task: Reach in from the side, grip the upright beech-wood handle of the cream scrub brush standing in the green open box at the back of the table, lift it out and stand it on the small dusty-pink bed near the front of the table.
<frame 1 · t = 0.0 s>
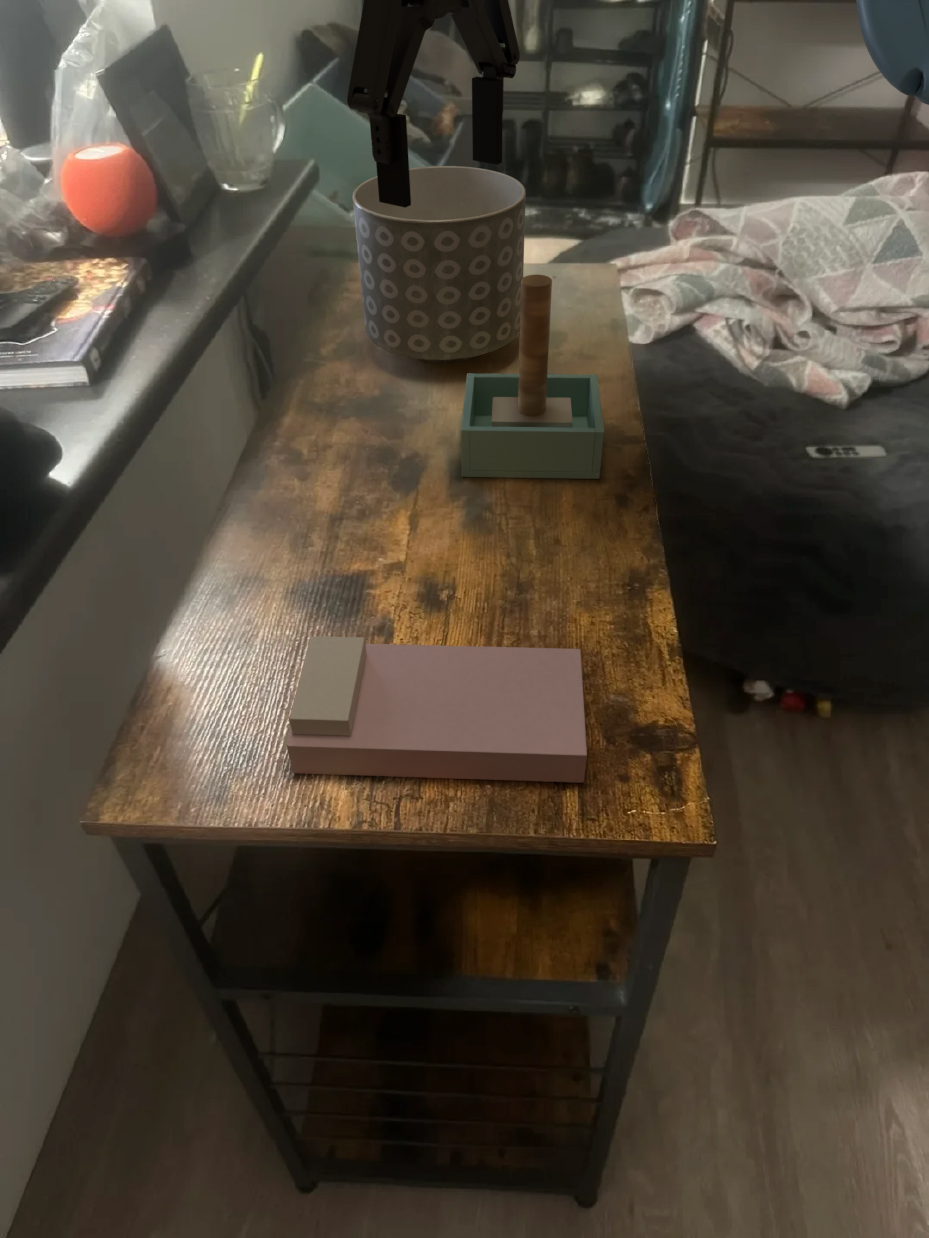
hand: (443, 182, 76), 25 cm above the table, tool pointing down, fingers open, 13 cm apart
planter: (444, 349, 109), on the table
bed: (442, 722, 64), on the table
green open box: (530, 447, 91), on the table
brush: (530, 440, 91), point 1 cm above the table, touching green open box
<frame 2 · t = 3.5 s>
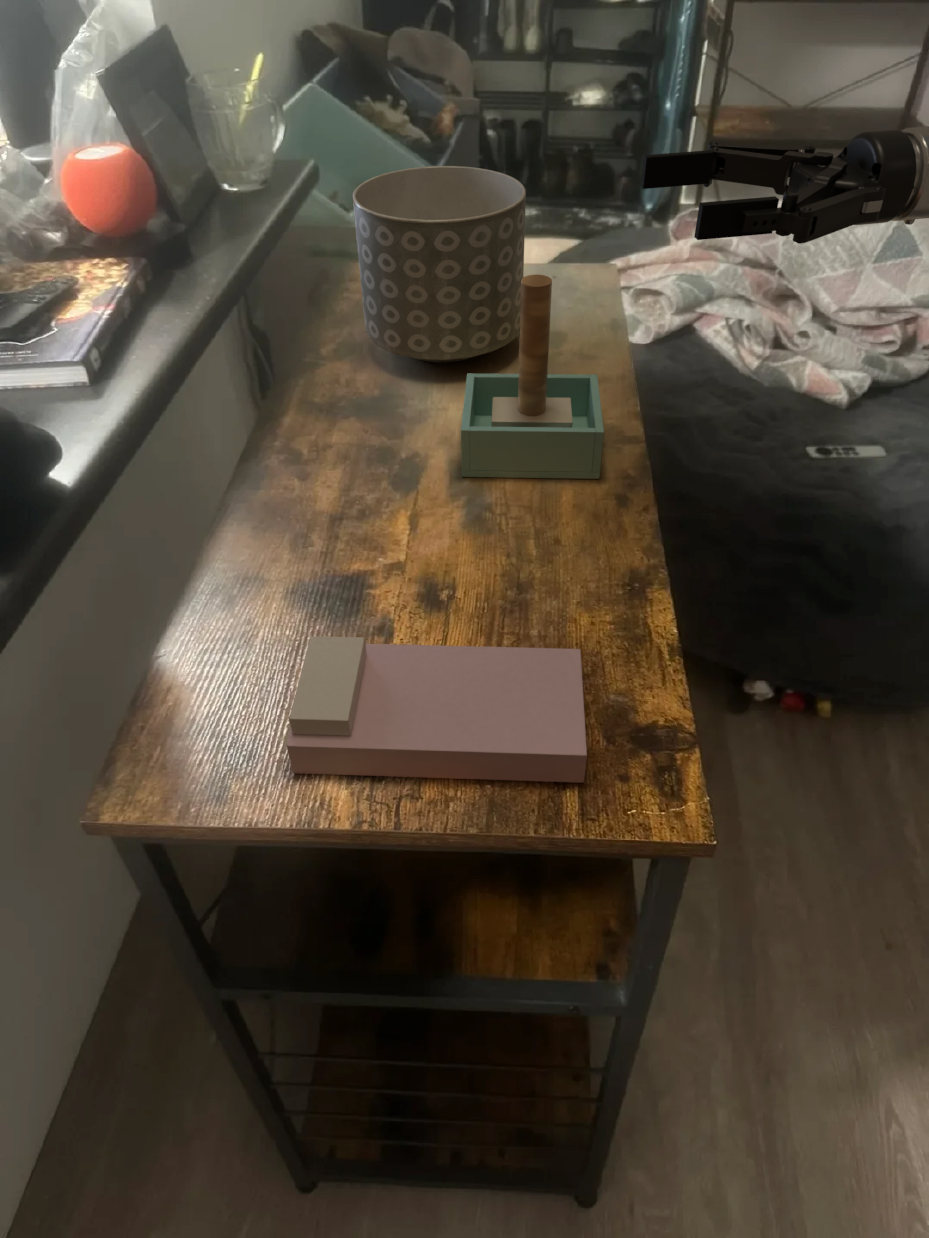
hand: (668, 195, 77), 24 cm above the table, tool horizontal, fingers open, 13 cm apart
nothing on the table moved.
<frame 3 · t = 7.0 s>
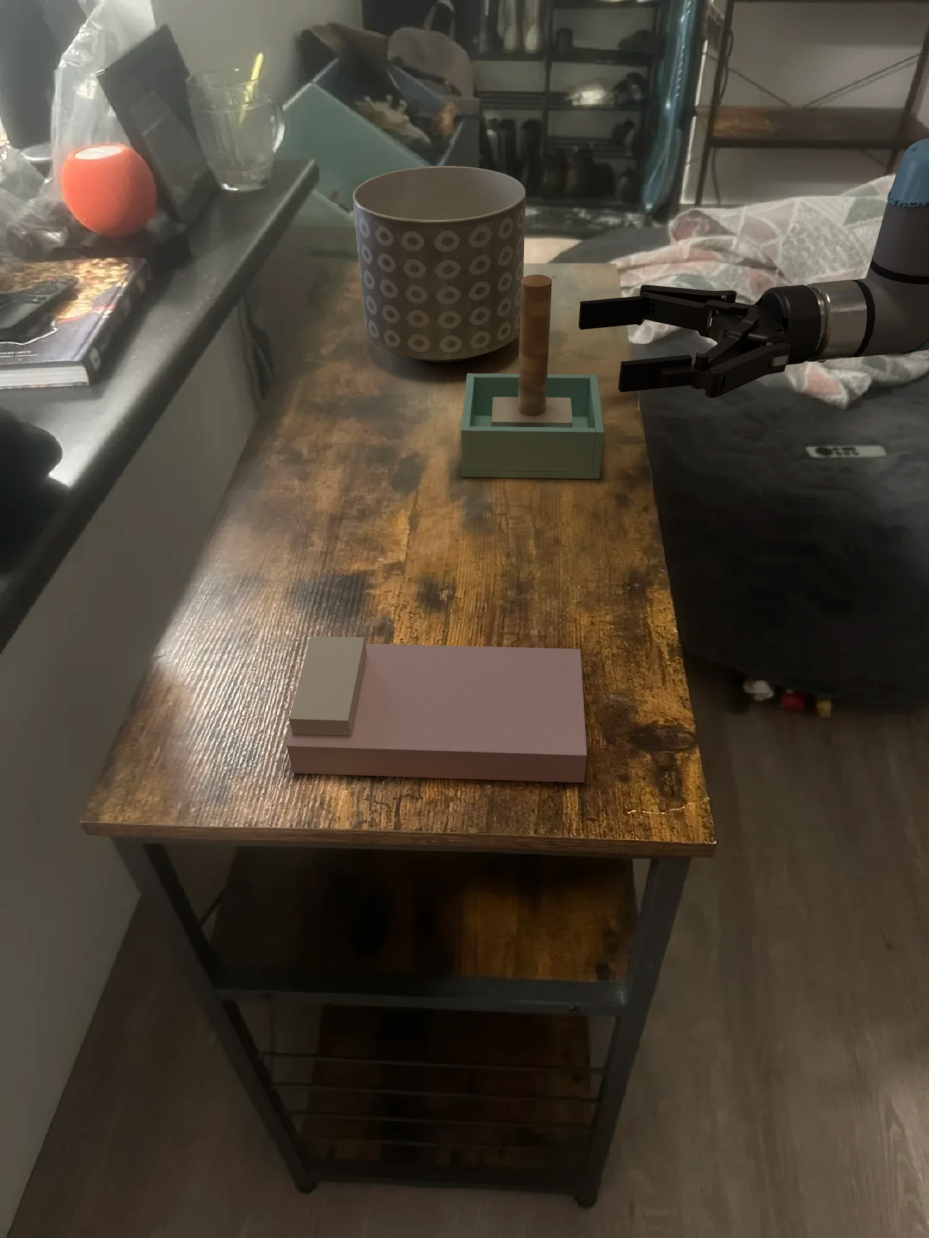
hand: (598, 344, 85), 11 cm above the table, tool horizontal, fingers open, 13 cm apart
nothing on the table moved.
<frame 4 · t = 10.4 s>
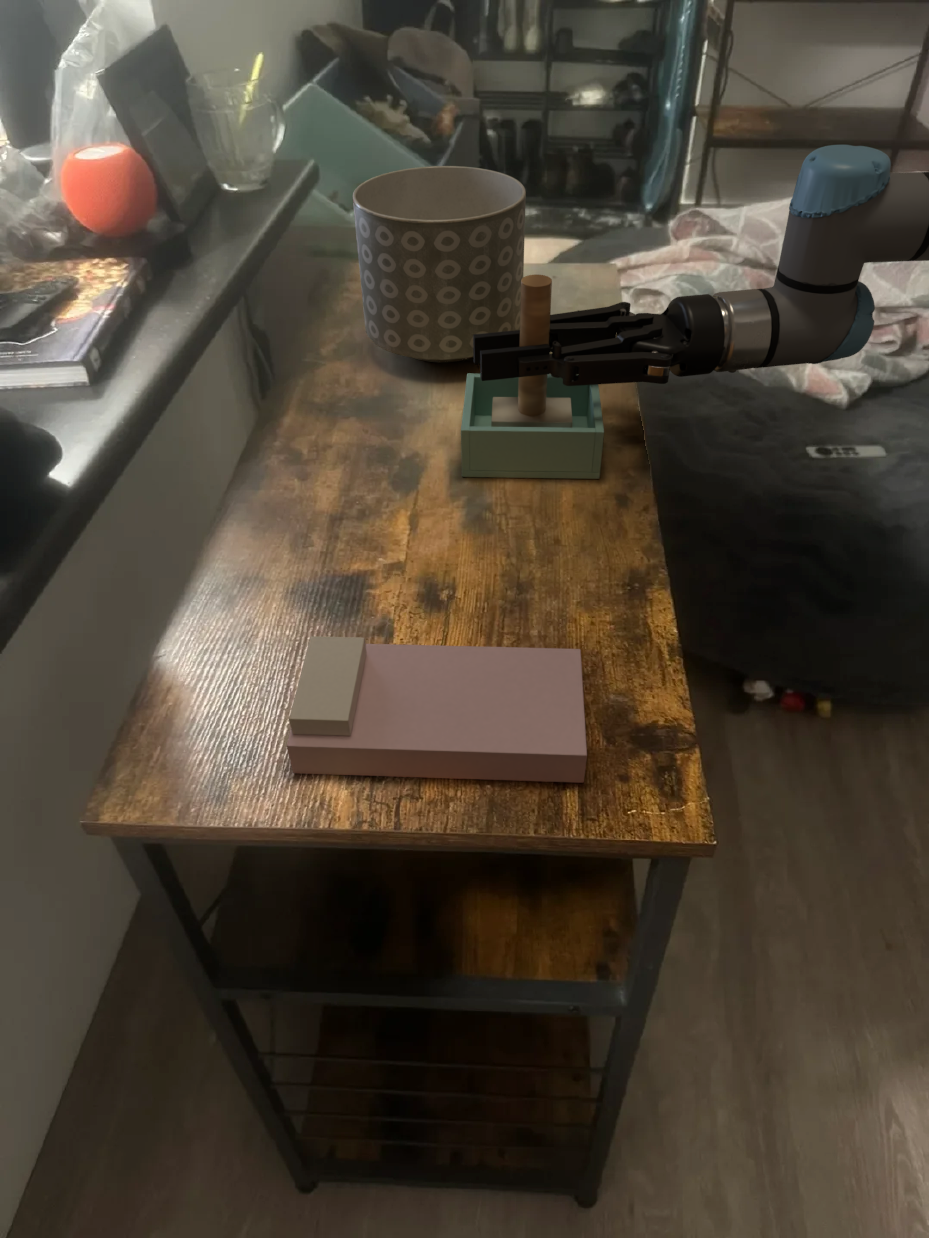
hand: (477, 357, 84), 10 cm above the table, tool horizontal, fingers closed on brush, 3 cm apart
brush: (530, 440, 91), point 1 cm above the table, touching green open box, gripper
everything else where it was.
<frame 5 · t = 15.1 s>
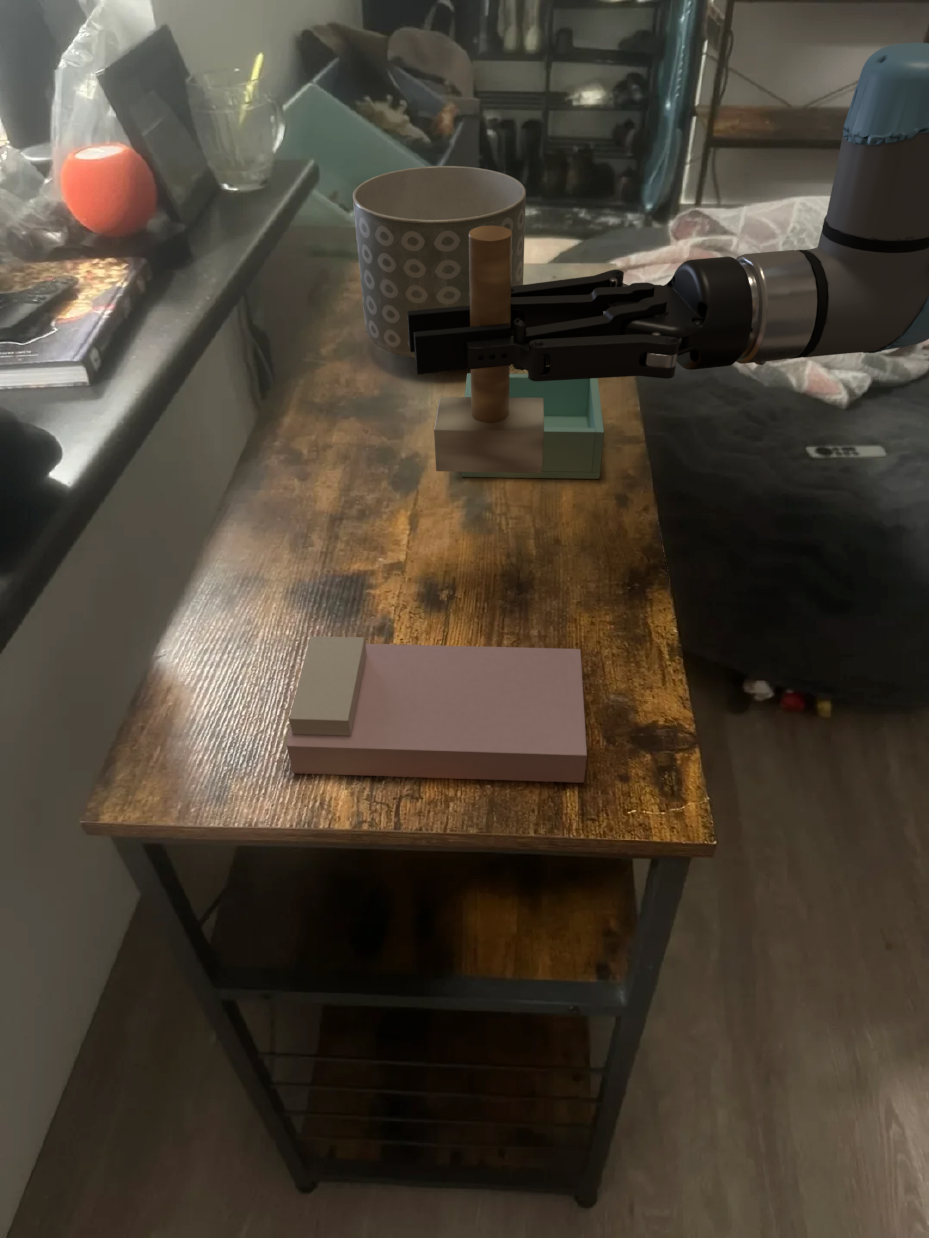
hand: (412, 342, 61), 22 cm above the table, tool horizontal, fingers closed on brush, 3 cm apart
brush: (490, 454, 68), point 12 cm above the table, touching gripper
everything else where it was.
when the fingers open (13 cm above the table, at t = 20.0 s): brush stays where it is, resting on bed.
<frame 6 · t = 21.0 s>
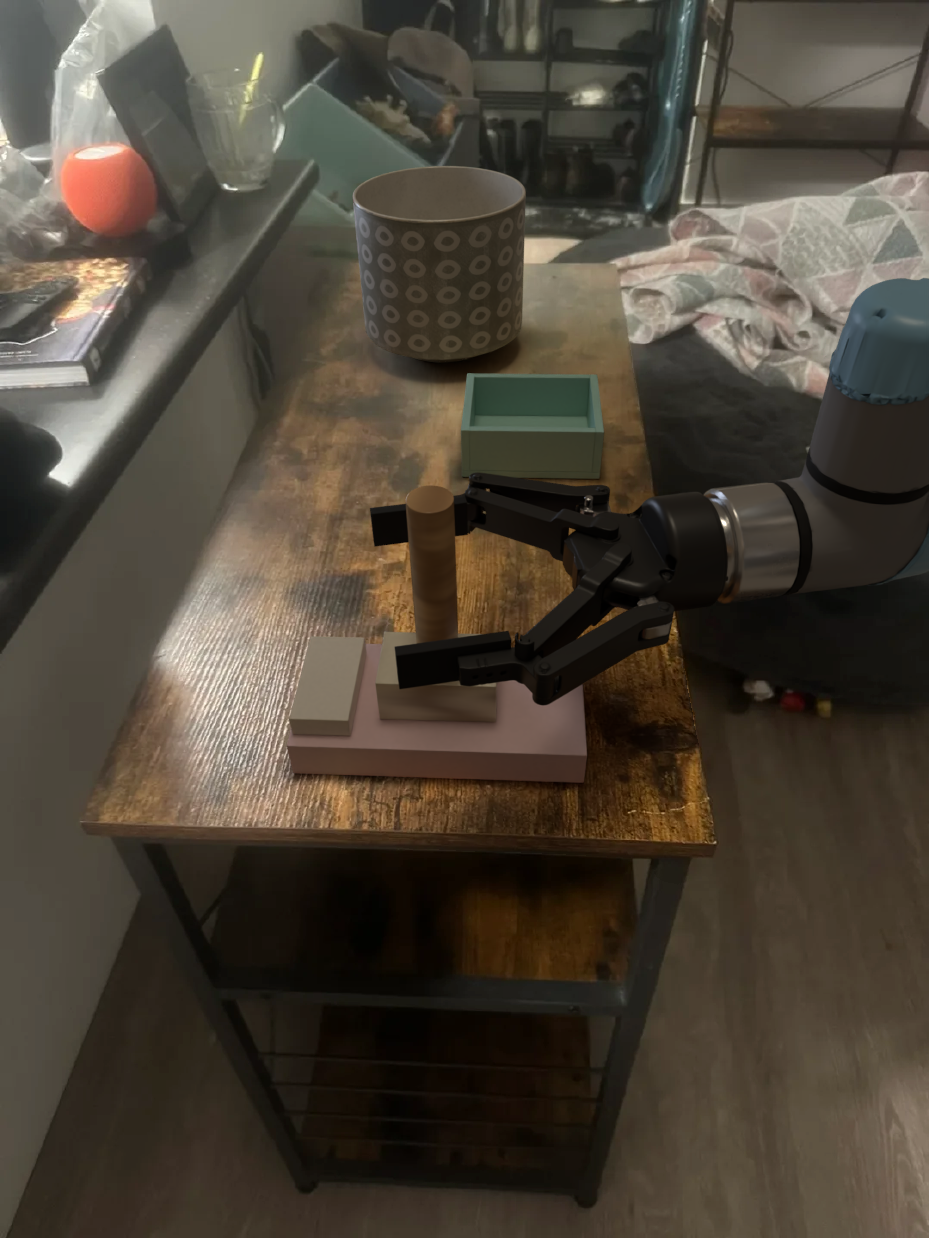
hand: (382, 591, 55), 13 cm above the table, tool horizontal, fingers open, 13 cm apart
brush: (440, 694, 62), point 3 cm above the table, touching bed
everything else where it was.
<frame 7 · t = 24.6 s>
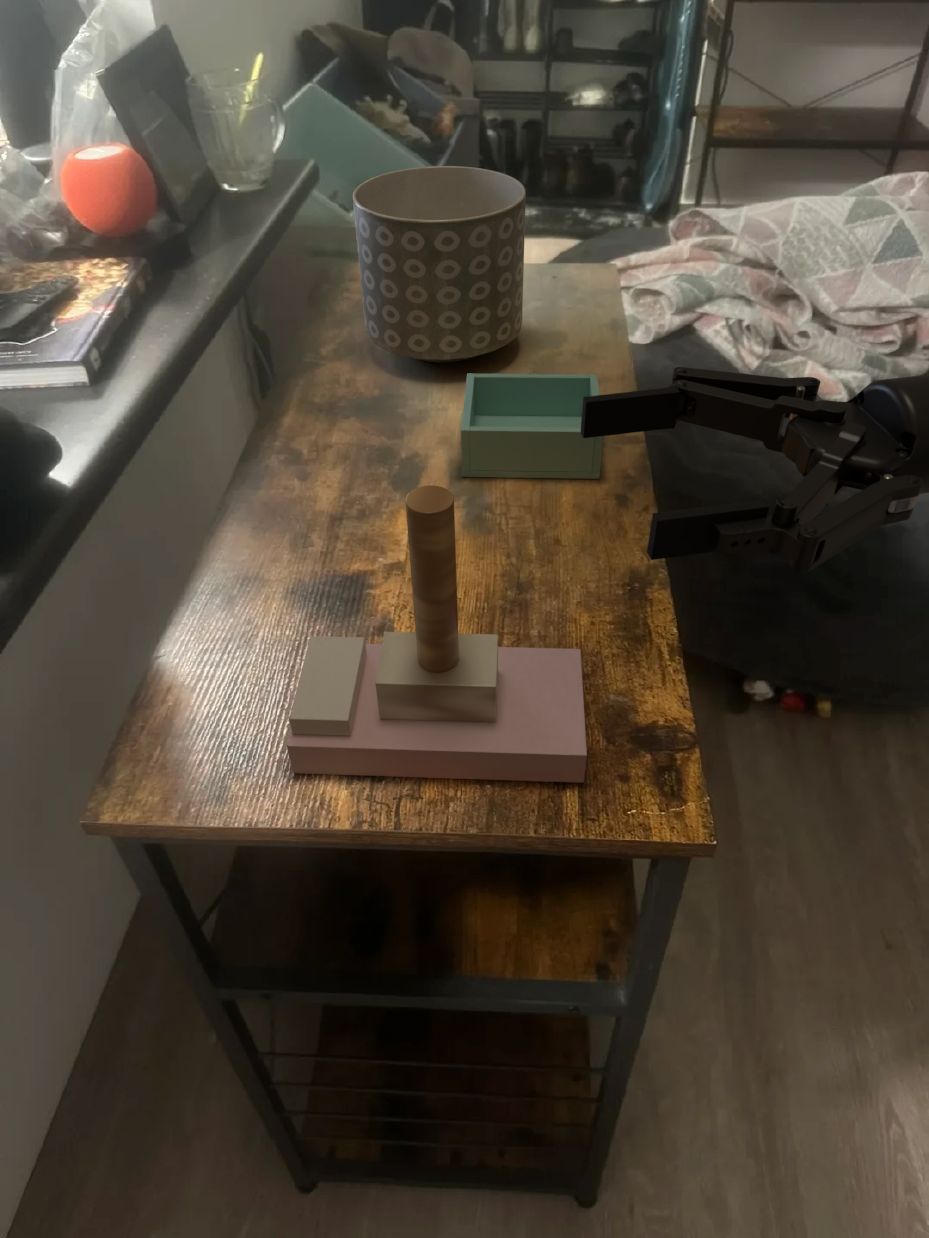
hand: (613, 472, 54), 19 cm above the table, tool horizontal, fingers open, 13 cm apart
nothing on the table moved.
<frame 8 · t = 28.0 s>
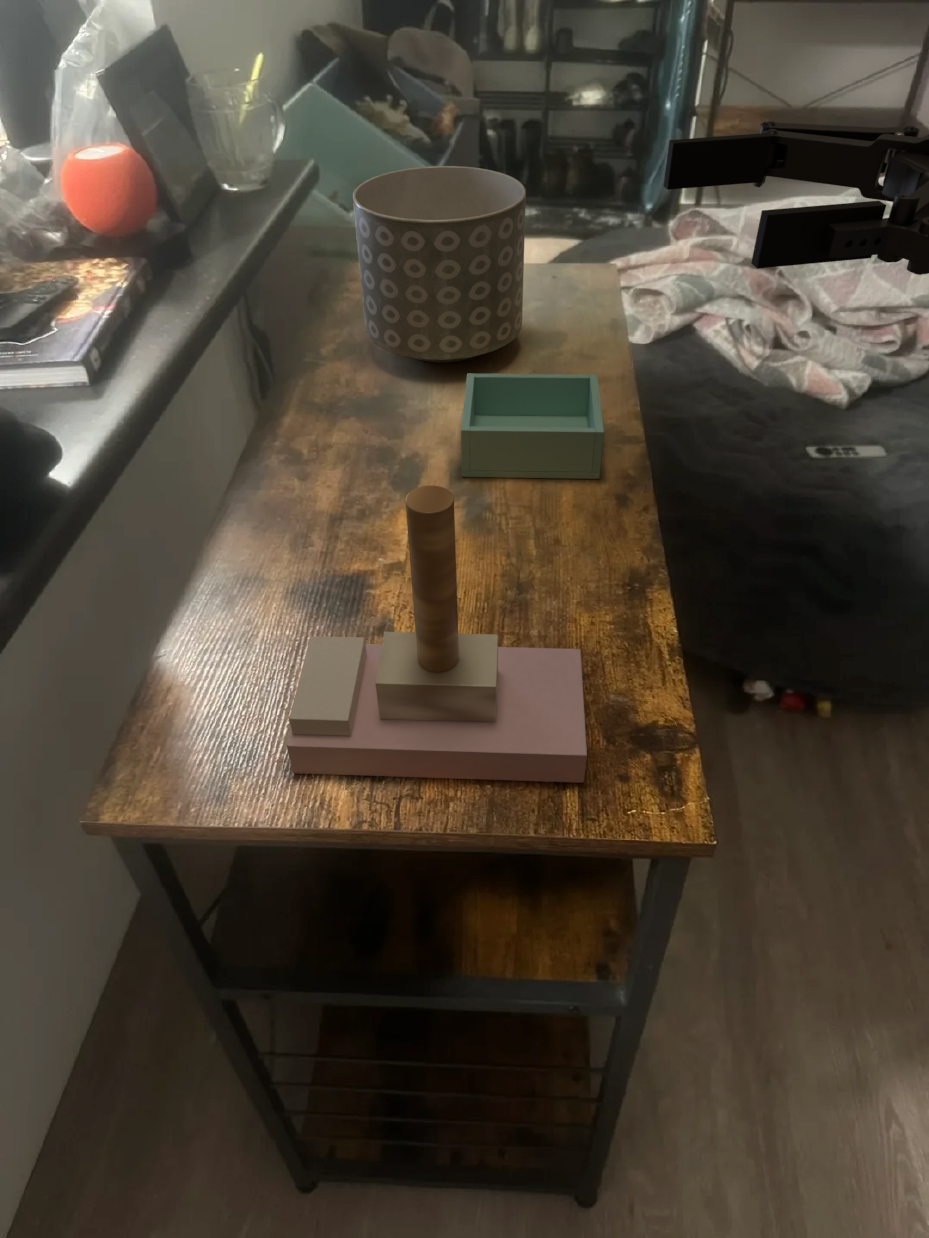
hand: (708, 199, 51), 32 cm above the table, tool horizontal, fingers open, 13 cm apart
nothing on the table moved.
at the end: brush inside the target area on the bed (0.1 cm from its centre), point 3.0 cm above the bed's base; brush tilted 0°; the gripper is holding nothing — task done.
